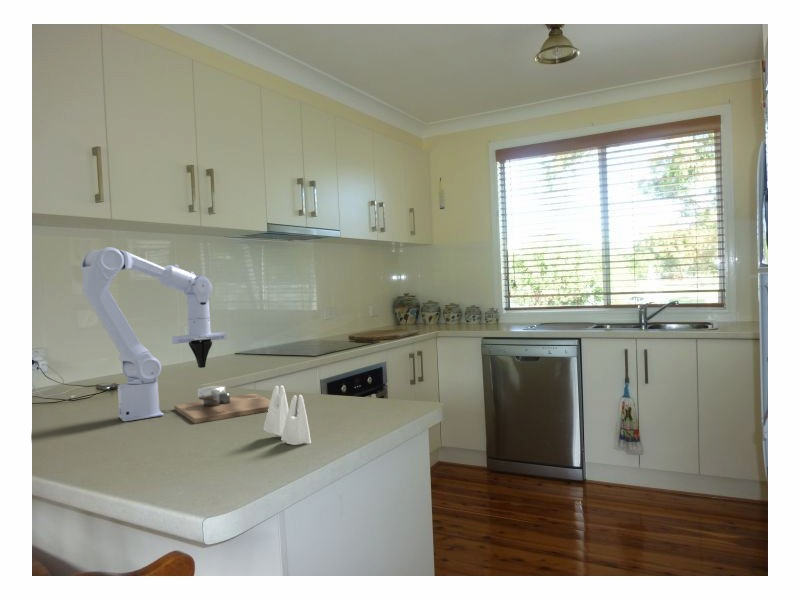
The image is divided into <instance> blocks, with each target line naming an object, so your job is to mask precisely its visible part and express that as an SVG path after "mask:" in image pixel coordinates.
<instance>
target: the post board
mask: <svg viewBox="0 0 800 600" xmlns="http://www.w3.org/2000/svg"><path fill="white" fill-rule="evenodd" d="M270 401H271V399H269V398H266V397H264V396H261V395H259V394H256V393H254V392H253V393H247V394H241V395H233V396H230V403H229V404H219V402H218V401H216V400H214V399H210V400H201V401H193V402H186V403H179V404H178V403H177V404H174V405H173V407H174V408H173V409H174V411H176V412H178V413H179V414H180V415H182V416H184V417H185V418H186V419H187V420H189V421H191V423H193V424H196V425H197V424H202V423H207V422H208V423H209V422H213V421H220V420H226V419H232V418H236V417H237V418H238V417H242V416H243V415H244V416H248V415H249V414H250V415H255V413H256V414H261V412H262V413H267V412H266V411H268V408H269V404H270ZM244 416H243V417H244Z"/></svg>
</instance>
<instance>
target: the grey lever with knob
mask: <svg viewBox="0 0 800 600" xmlns="http://www.w3.org/2000/svg"><path fill="white" fill-rule="evenodd" d="M230 397H231V394H230V392H226V386H225V385H209V386H204V387H200V388H197V398H198V400H201V401H204V400H210V399H214V400H216V401H218V402H219V404H229V403H230Z"/></svg>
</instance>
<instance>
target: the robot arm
mask: <svg viewBox="0 0 800 600" xmlns="http://www.w3.org/2000/svg"><path fill="white" fill-rule="evenodd" d="M80 268H81V272H82V273H81V274H82V275H81V276H82V277H81V278H82V279H81V280H82V281H81V291H82V293H83V295H84V297H85V298H86V301H87V302H88V303H89V305H90V307H91V308H92V310H93V311H94V313H95V314H96V316H97V318H98V319H99V321H100V322H101V325H102V326H103V328H104V329H105V331H106V333H107V334H108V336H109V338H110V339H111V341H112V342H113V344H114V346H115V347H116V349H117V350H118V352H119V356H118V358H119V359H118V360H120V362H121V365H122V367H121V368H122V373H123V374H124V375H125V377H127V379H126V383H125V384H124V383H123V384H119V385H117V398H118V401H117V402H118V408H117V409H118V417H119V418H120V420H121V421H122V422H129V421H135V420H136V421H137V420H142V419H149V418H155V417H162V416H164V415H165V413H164V412H162V411H161V410H160V396H159V380H158V377H160V375H161V373H162V363H161V362H160V360H159V359H158V358H156V357H154V356H153V355H152V354H151V352H150V350H148V348H146V347H145V346H144V345H143V344H141V342H140V340H139V339H138V337H137V336H136V334H135V332H134V330H133V328H132V327H131V326H130V323H129V322H128V320H127V319H126V317H125V316H124V314H123V312H122V311H121V309H120V307H119V305H118V304H117V302H116V300H115V298H114V297H113V294H111V291H110V287H111V285H112V281H113V279H114V278H115V277H116V275H117V274H119V272H120V271H124V270H129V271H132V272H133V271H134V272H137V273H140V274H143V275H146V276H150V277H152V278H156V279H158V281H159V283H160V284H161V285H162V286H164V287H167V288H169V289H172V290H175V291H179V292H182V293H183V294H184V295H186V303H187V319H188V324H187V325H188V334H185V335H176V336H171V340H172V341H171V343H172V344H173V345H178V344H184V343H185V344H186V343H187V344H188V346H189V347H190V349H191V351H192V353H193V354H194V356H195V360H196V364H197V366H198V368H199V369H203V368H206V363H207V358H208V355H209V352H210V351H211V348H212V345H213V341H219V340H228V332H223V331H221V332H212V331H211V316H210V315H211V314H210V294H211V293H212V290H213V288H214V287H213V285H212V283H211V281H210V280H209V278H208V277H206V276H205V275H196V274H195V272H194V271H187V270H184V269H182V268H180V266H179V265H178V264H172V265H171V264H168V265H166V266H164V267H163V266H161V265H160V264H157V263H155V262H152V261H150V260H147V259H145V258H142V257H141V256H137V255H135V254H134V253H133V254H132V253H131V252H128V251H127V250H121V249H120V250H119V249H118V248H115V247H111V246H108V247H104V248H102V249H94V250H90V251H88V252H87V253H86V254H85V256H84V257H83V260H82V261H81V263H80Z"/></svg>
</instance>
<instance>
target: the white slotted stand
mask: <svg viewBox="0 0 800 600" xmlns="http://www.w3.org/2000/svg"><path fill="white" fill-rule="evenodd" d="M270 400H271V401H270V404H269V408H268V412H266V417H265V420H264V424H263V431H265V432H266V433H269V434H271V435H274V436H277V437H280V438H281V439H280V440H281V441H285V442H286V444H288V445H292V446H298V445H303V444H307V445H308V444H311V443H312V441H311V434H310V426H309V422H308V415H307V411H306V405H305V400H304V397H303V395H302V394H299V395H298V397H297V395H295V394H294V395H293V397H292V398H291V402H290V405H289V404H288V400H287V394H286V390H285V387H284V385H280V387H279V386H278V385H275V386H274V389H273V390H272V393H271V398H270Z"/></svg>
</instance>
